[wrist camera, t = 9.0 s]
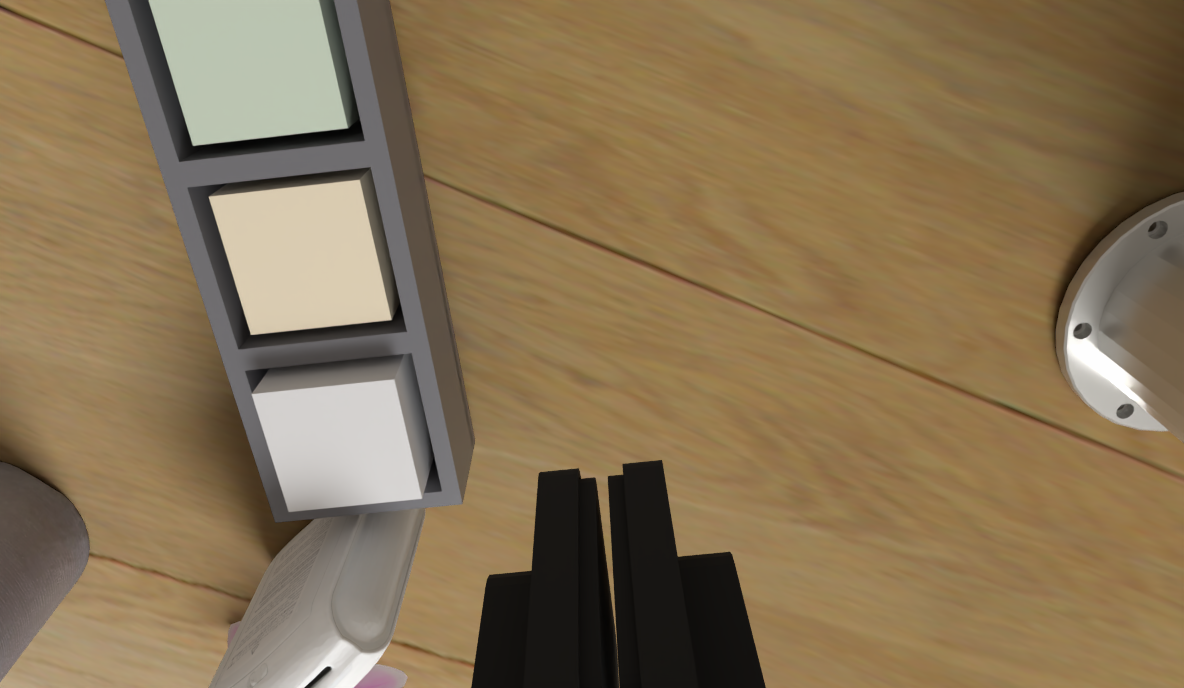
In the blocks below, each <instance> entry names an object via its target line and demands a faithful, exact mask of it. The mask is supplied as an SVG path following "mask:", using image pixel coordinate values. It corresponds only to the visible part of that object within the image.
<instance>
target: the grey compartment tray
mask: <svg viewBox="0 0 1184 688" xmlns="http://www.w3.org/2000/svg"><path fill="white" fill-rule="evenodd" d="M105 2H106V5H107V8H108V11H109V14H110V17H111V20H112V23H113V27H114V30H115V33H116V36H117V39H118V42H119V45H120V48H121V51H122V54H123V57H124V60H125V63H126V66H127V69H128V73H129V76H130V79H131V82H132V85H133V88H134V91H135V94H136V97H137V100H138V103H139V106H140V109H141V112H142V115H143V118H144V122H145V125H146V128H147V131H148V134H149V137H150V140H151V143H152V146H153V149H154V152H155V155H156V158H157V161H158V164H159V167H160V171H161V174H162V177H163V180H164V183H165V186H166V189H167V192H168V195H169V198H170V201H171V204H172V207H173V210H174V213H175V217H176V220H177V223H178V226H179V229H180V232H181V235H182V238H183V241H184V244H185V247H186V250H187V253H188V256H189V259H190V262H191V266H192V269H193V272H194V275H195V278H196V281H197V284H198V287H199V290H200V293H201V296H202V299H203V302H204V305H205V308H206V312H207V315H208V318H209V321H210V324H211V327H212V330H213V333H214V336H215V339H216V342H217V345H218V348H219V351H220V354H221V357H222V361H223V364H224V367H225V370H226V373H227V376H228V379H229V382H230V385H231V388H232V391H233V394H234V397H235V400H236V403H237V407H238V410H239V413H240V416H241V419H242V422H243V425H244V428H245V431H246V434H247V437H248V440H249V443H250V446H251V449H252V452H253V456H254V459H255V462H256V465H257V468H258V471H259V474H260V477H261V480H262V483H263V486H264V489H265V492H266V495H267V498H268V501H269V505H270V508H271V511H272V514H273V517H274V520H275V523H277V522H287V521H297V520H307V519H317V518H327V517H337V516H347V515H357V514H368V513H378V512H388V511H398V510H408V509H418V508H428V507H438V506H448V505H458V504H463V499H464V494H465V489H466V484H467V479H468V474H469V469H470V464H471V459H472V454H473V449H474V444H475V438H474V433H473V428H472V422H471V417H470V412H469V407H468V402H467V397H466V392H465V386H464V381H463V376H462V371H461V366H460V361H459V356H458V350H457V345H456V340H455V335H454V330H453V325H452V320H451V315H450V309H449V304H448V299H447V294H446V289H445V284H444V279H443V273H442V268H441V263H440V258H439V253H438V248H437V243H436V237H435V232H434V227H433V222H432V217H431V212H430V207H429V202H428V196H427V191H426V186H425V181H424V176H423V171H422V166H421V160H420V155H419V150H418V145H417V140H416V135H415V130H414V124H413V119H412V114H411V109H410V104H409V99H408V94H407V89H406V83H405V78H404V73H403V68H402V63H401V58H400V53H399V47H398V42H397V37H396V32H395V27H394V22H393V17H392V11H391V6H390V1H389V0H334V3H335V7H336V12H337V16H338V21H339V25H340V30H341V35H342V39H343V44H344V48H345V53H346V57H347V62H348V66H349V71H350V75H351V80H352V84H353V89H354V94H355V98H356V103H357V107H358V112H359V116H360V118H359V119H358V120H357V121H356V122H355V123H354V124H352V125H351V126H350V127H349V128H345V129H336V130H328V131H319V132H310V133H301V134H293V135H284V136H275V137H266V138H257V139H249V140H240V141H231V142H222V143H213V144H205V145H196V146H193V144H192V141H191V137H190V134H189V131H188V128H187V124H186V121H185V118H184V115H183V111H182V108H181V105H180V102H179V98H178V95H177V92H176V89H175V85H174V82H173V79H172V75H171V72H170V69H169V66H168V62H167V59H166V56H165V53H164V49H163V46H162V43H161V40H160V36H159V33H158V30H157V26H156V23H155V20H154V17H153V13H152V10H151V7H150V4H149V0H105ZM366 167H371V171H372V175H373V180H374V184H375V189H376V193H377V198H378V202H379V207H380V212H381V216H382V221H383V225H384V230H385V234H386V239H387V243H388V248H389V252H390V257H391V261H392V266H393V271H394V275H395V280H396V284H397V289H398V293H399V298H400V304H399V306H398V308H397V310H396V312H395V314H394V316H393V318H392V320H387V321H378V322H368V323H359V324H349V325H340V326H331V327H321V328H312V329H302V330H293V331H284V332H274V333H265V334H255V335H251V333H250V330H249V327H248V324H247V320H246V317H245V314H244V310H243V307H242V304H241V301H240V297H239V294H238V291H237V288H236V284H235V281H234V278H233V275H232V271H231V268H230V265H229V261H228V258H227V255H226V252H225V248H224V245H223V242H222V239H221V235H220V232H219V229H218V226H217V222H216V219H215V216H214V212H213V209H212V206H211V203H210V199H209V196H210V195H212V194H213V193H215V192H216V191H217V190H219V189H220V188H222V187H223V186H224V185H226V184H227V183H233V182H242V181H251V180H259V179H268V178H277V177H286V176H295V175H304V174H313V173H322V172H331V171H340V170H349V169H358V168H366ZM409 353H412V357H413V361H414V366H415V370H416V375H417V379H418V384H419V389H420V393H421V398H422V402H423V407H424V411H425V416H426V420H427V425H428V429H429V434H430V438H431V443H432V448H433V452H434V458H433V461H432V465H431V468H430V472H429V476H428V479H427V483H426V487H425V490H424V494H423V498H422V499H415V500H405V501H395V502H385V503H375V504H365V505H355V506H345V507H335V508H324V509H314V510H304V511H294V512H289V511H288V508H287V505H286V502H285V498H284V495H283V492H282V489H281V486H280V483H279V479H278V476H277V473H276V470H275V467H274V464H273V461H272V457H271V454H270V451H269V448H268V445H267V442H266V438H265V435H264V432H263V429H262V426H261V423H260V419H259V416H258V413H257V410H256V407H255V404H254V400H253V397H252V393H253V391H254V390H255V389H256V387H257V386H258V384H259V383H260V382H261V380H262V379H263V377H264V376H265V374H266V373H267V372H268V370H269V369H270V368H275V367H285V366H294V365H304V364H314V363H323V362H333V361H342V360H352V359H361V358H371V357H380V356H390V355H399V354H409Z"/></svg>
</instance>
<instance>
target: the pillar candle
mask: <svg viewBox="0 0 1184 688" xmlns="http://www.w3.org/2000/svg"><path fill="white" fill-rule="evenodd" d="M89 550H90V547H89V538H88V534H87V531H86V526H85V524H84V522H83V520H82V517H81V516H80V515H79V513H78V511H77V510H76V508H75V506H74V505H73V504H72V503H71V502H70V501H69V500H68V499H67V498H66V497H65V496H64V495H62V494H61V493H60V492H58V491H56V490H54V489H53V488H51V487H49V486H48V485H46V484H45V483H43V482H42V481H40V480H38V479H37V478H35V477H33V476H32V475H30V474H28V473H26V472H24V471H23V470H21V469H19V468H17V467H15V466H13V465H11V464H7V463H4V462H0V682H1V680H2V679H3V678H4V677H5V675H6V674H7V673H8V671H9V670H10V669H11V667H12V666H13V665H14V663H15V662H16V661H17V659H18V658H19V657H20V655H21V654H22V652H23V651H24V650H25V649H26V647H27V646H28V645H29V643H30V642H31V641H32V639H33V638H34V637H35V635H36V634H37V633H38V631H39V630H40V629H41V628H42V626H43V625H44V624H45V622H46V621H47V620H48V618H49V617H50V616H51V615H52V613H53V612H54V611H55V609H56V608H57V607H58V605H59V604H60V603H61V601H62V600H63V599H64V597H65V596H66V595H67V594H68V593H69V591H70V590H71V589H72V587H73V586H74V584H75V583H76V582H77V580H78V579H79V577H80V576H81V574H82V572H83V571H84V569H85V566H86V564H87V561H88V557H89Z"/></svg>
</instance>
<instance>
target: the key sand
mask: <svg viewBox="0 0 1184 688" xmlns="http://www.w3.org/2000/svg"><path fill="white" fill-rule="evenodd" d="M209 199H210V203H211V206H212V209H213V212H214V216H215V219H216V222H217V226H218V229H219V232H220V235H221V239H222V242H223V245H224V248H225V252H226V255H227V258H228V261H229V265H230V268H231V271H232V275H233V278H234V281H235V284H236V288H237V291H238V294H239V297H240V301H241V304H242V307H243V310H244V314H245V317H246V320H247V324H248V327H249V330H250V333H251V335H255V334H265V333H274V332H284V331H293V330H302V329H312V328H321V327H331V326H340V325H349V324H359V323H368V322H378V321H387V320H392V318H393V316H394V314H395V312H396V310H397V308H398V306H399V304H400V298H399V293H398V289H397V284H396V280H395V275H394V271H393V266H392V261H391V257H390V252H389V248H388V243H387V239H386V234H385V230H384V225H383V221H382V216H381V212H380V207H379V202H378V198H377V193H376V189H375V184H374V180H373V175H372V171H371V167H366V168H358V169H349V170H340V171H331V172H322V173H313V174H304V175H295V176H286V177H277V178H268V179H259V180H251V181H242V182H233V183H227V184H226V185H224V186H223V187H222V188H220V189H219V190H217V191H216V192H215V193H213V194H212V195H210V196H209Z"/></svg>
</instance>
